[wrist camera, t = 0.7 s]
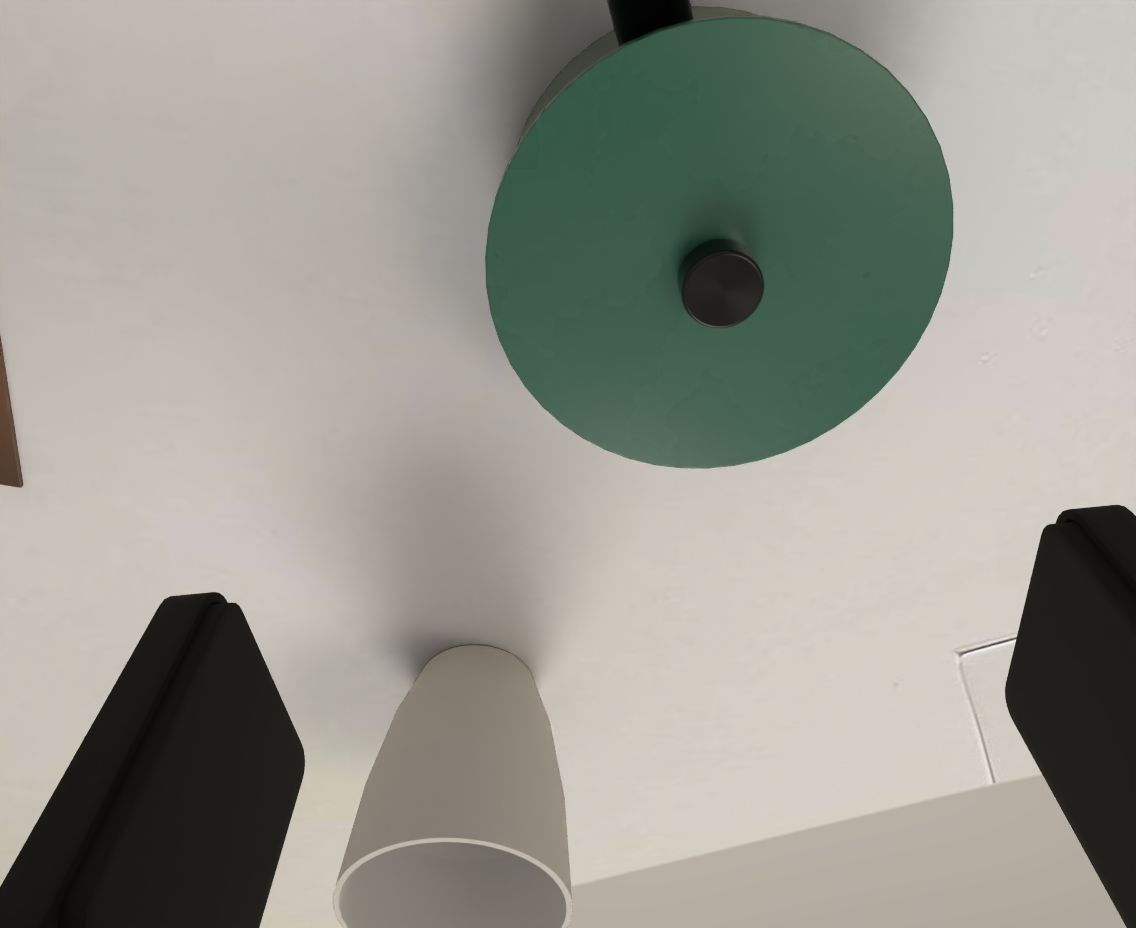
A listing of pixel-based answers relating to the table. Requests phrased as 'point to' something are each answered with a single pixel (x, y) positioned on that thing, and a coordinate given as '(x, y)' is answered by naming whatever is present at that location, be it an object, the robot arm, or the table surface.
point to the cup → (461, 807)
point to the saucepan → (716, 236)
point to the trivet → (7, 435)
